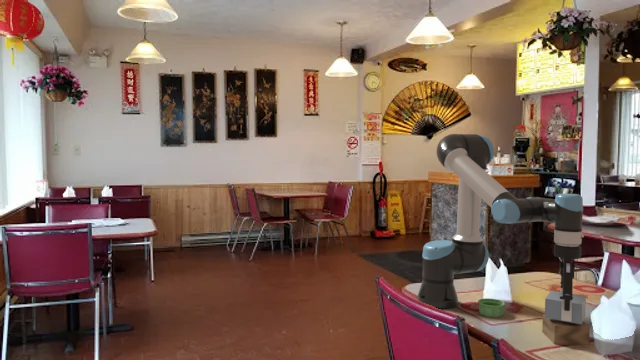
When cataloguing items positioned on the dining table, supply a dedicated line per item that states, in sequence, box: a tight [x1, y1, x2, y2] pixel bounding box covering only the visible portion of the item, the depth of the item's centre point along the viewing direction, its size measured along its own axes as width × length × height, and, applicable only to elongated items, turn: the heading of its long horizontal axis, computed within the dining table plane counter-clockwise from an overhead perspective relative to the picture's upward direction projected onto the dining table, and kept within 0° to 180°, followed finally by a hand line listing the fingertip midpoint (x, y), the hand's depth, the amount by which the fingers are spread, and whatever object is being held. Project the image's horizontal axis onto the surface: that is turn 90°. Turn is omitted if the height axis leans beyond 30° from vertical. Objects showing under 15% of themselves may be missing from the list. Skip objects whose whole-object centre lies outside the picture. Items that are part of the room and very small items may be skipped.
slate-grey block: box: [544, 290, 587, 324], centre depth 150 cm, size 10×10×6 cm
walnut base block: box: [541, 313, 591, 346], centre depth 150 cm, size 10×10×6 cm
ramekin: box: [477, 298, 506, 318], centre depth 173 cm, size 9×9×4 cm
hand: (565, 315), depth 150 cm, fingers closed on slate-grey block, 11 cm apart
